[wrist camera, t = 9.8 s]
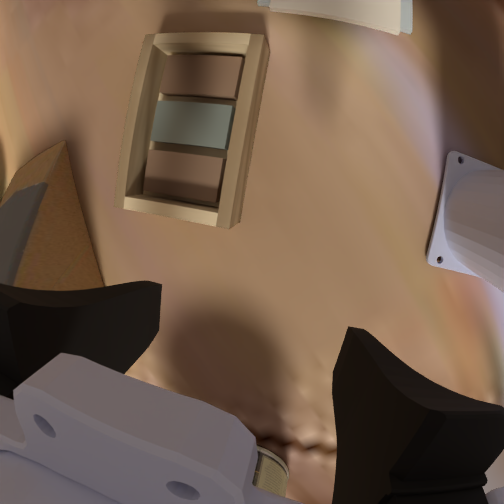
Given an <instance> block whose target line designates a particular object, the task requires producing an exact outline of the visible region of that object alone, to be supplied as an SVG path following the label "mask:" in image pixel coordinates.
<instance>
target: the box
mask: <svg viewBox="0 0 504 504" xmlns="http://www.w3.org/2000/svg"><path fill="white" fill-rule="evenodd" d="M269 56H270V51H269V48H268V45H267V42H266V39H265V36H264V35H262V34H249V33H229V32H180V33H160V34H147V35H145V38H144V42H143V45H142V49H141V53H140V56H139V60H138V64H137V68H136V72H135V77H134V81H133V86H132V90H131V95H130V100H129V104H128V110H127V115H126V120H125V126H124V132H123V138H122V144H121V150H120V157H119V165H118V172H117V181H116V190H115V199H114V207H117V208H122V209H127V210H133V211H138V212H143V213H149V214H154V215H159V216H165V217H170V218H175V219H180V220H185V221H190V222H196V223H201V224H206V225H211V226H216V227H221V228H226V229H230V228H232V227H233V226H235V225H236V224H238V223H239V222H240V218H241V212H242V207H243V201H244V195H245V189H246V183H247V177H248V171H249V166H250V160H251V154H252V149H253V143H254V137H255V132H256V126H257V121H258V115H259V110H260V104H261V99H262V93H263V88H264V83H265V77H266V72H267V67H268V61H269Z"/></svg>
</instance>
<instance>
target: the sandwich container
mask: <svg viewBox="0 0 504 504" xmlns="http://www.w3.org/2000/svg"><path fill="white" fill-rule="evenodd" d="M0 283H1V284H5V285H10V286H14V287H20V288H27V289H35V290H54V291H68V290H84V289H92V288H99V287H104V285H103V281H102V278H101V275H100V272H99V269H98V265H97V262H96V258H95V255H94V251H93V248H92V244H91V241H90V237H89V234H88V231H87V227H86V224H85V220H84V217H83V213H82V210H81V206H80V202H79V198H78V194H77V191H76V186H75V182H74V178H73V174H72V169H71V165H70V160H69V155H68V150H67V145H66V141H65V140H63V141H61V142H59V143H58V144H56V145H54V146H53V147H51V148H49V149H47V150H46V151H44V152H42V153H41V154H39V155H37V156H36V157H35V158H33V159H32V160H31V161H29V162H28V163H27V164H26V165H24V166H23V167H22V168H21V169H19V170H18V171H17V172H16V173H15V175H14V177H13V178H12V180H11V182H10V184H9V186H8V188H7V190H6V192H5V194H4V196H3V199H2V201H1V203H0Z"/></svg>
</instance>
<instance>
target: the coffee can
mask: <svg viewBox="0 0 504 504" xmlns="http://www.w3.org/2000/svg"><path fill="white" fill-rule="evenodd" d="M257 453H258V460H257V464H256V468H255V473H254V477H253V482H252V484H253V485H254V486H256V487H259V488H261V489H264V490H266V491H269V492H272V493H274V494H277V495H280V496H283V497H285V495H286V487H287V481H288V478H289V471H288V468H287V466H286V464H285V463H284V462H283V461H282V459H281V458H279V457H278V456H277V455H275V454H274V453H272V452H270V451H269V450H267V449H265V448H262V447H260V446H257Z"/></svg>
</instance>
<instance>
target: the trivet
mask: <svg viewBox="0 0 504 504" xmlns="http://www.w3.org/2000/svg"><path fill="white" fill-rule="evenodd" d="M270 1H271V0H258V1H257V4H258V6H267V7H269V5H270ZM400 31H401V32H404V33H407V34H411V33H412V0H401V20H400Z"/></svg>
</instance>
